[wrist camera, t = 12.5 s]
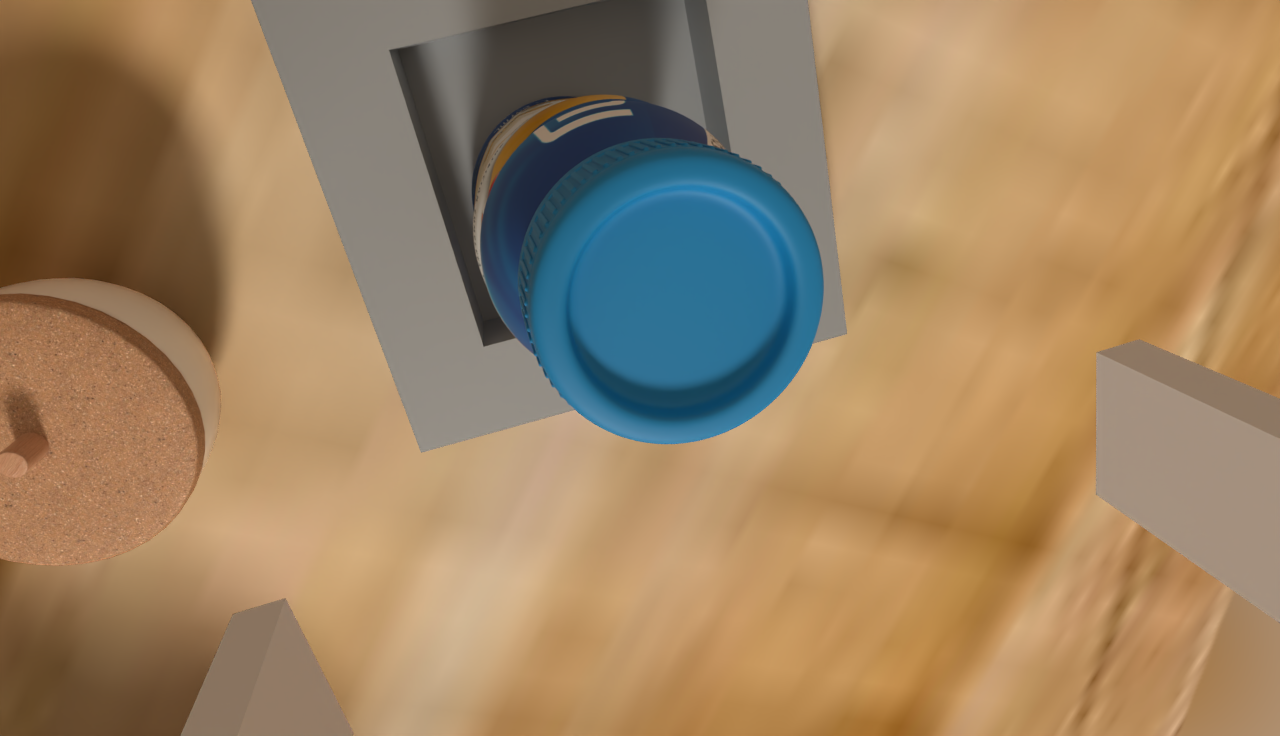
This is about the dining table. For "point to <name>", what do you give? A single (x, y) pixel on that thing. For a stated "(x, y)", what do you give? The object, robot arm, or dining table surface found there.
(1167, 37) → the dining table surface
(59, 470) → the lidded jar
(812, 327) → the beverage bottle
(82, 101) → the dining table surface
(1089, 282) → the dining table surface
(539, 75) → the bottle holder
